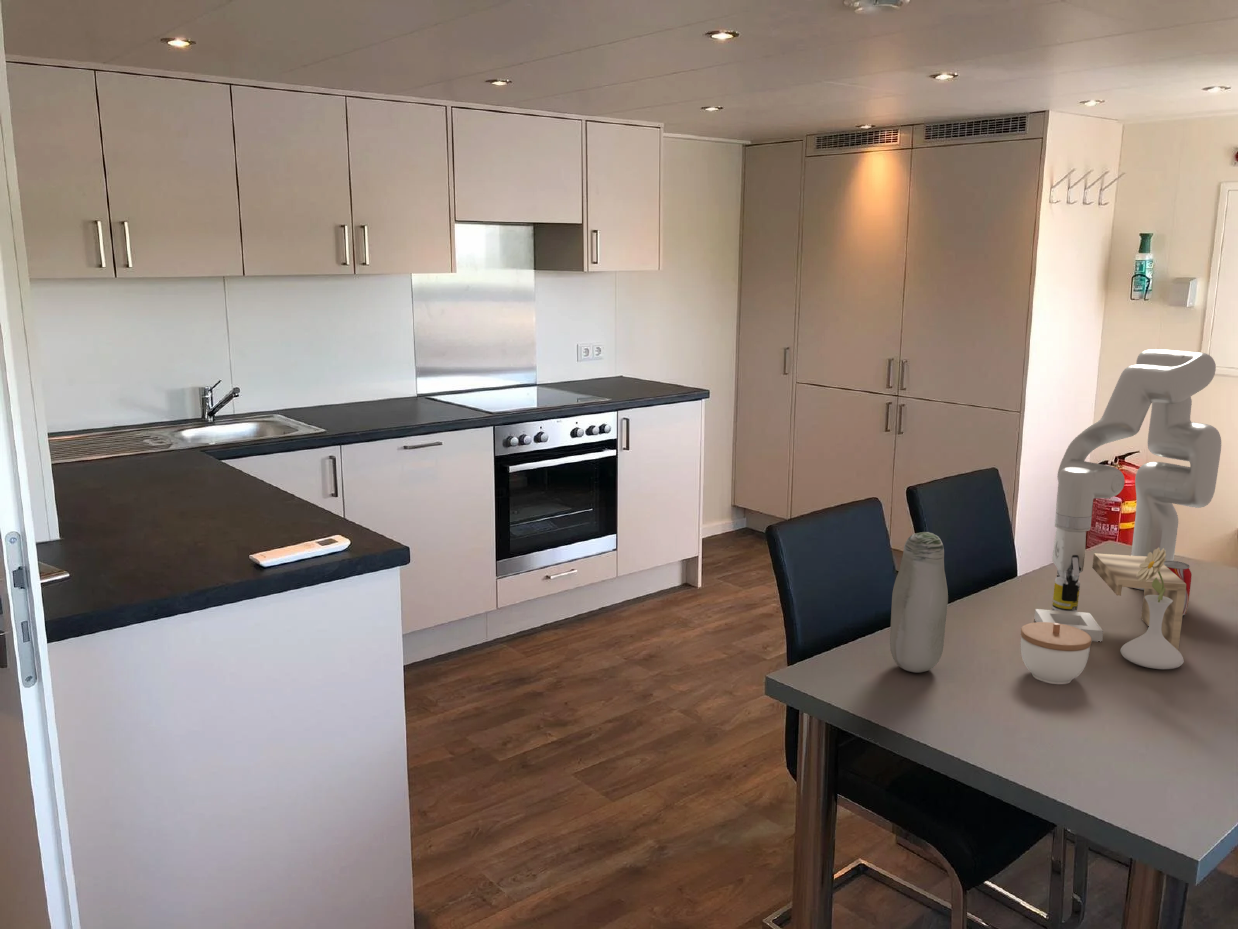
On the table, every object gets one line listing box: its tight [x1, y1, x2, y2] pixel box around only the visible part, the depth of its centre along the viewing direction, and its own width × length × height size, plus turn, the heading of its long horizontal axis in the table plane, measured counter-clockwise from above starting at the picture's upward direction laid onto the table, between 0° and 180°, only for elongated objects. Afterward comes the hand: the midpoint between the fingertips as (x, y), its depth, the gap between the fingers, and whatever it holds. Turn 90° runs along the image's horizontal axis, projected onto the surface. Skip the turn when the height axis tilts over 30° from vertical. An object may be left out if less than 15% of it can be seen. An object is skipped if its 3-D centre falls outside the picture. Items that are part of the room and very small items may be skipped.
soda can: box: [1164, 560, 1192, 616], centre depth 228 cm, size 7×7×12 cm
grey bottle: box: [889, 531, 949, 673], centre depth 193 cm, size 10×10×28 cm
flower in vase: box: [1120, 548, 1185, 670], centre depth 197 cm, size 13×11×25 cm
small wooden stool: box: [1091, 553, 1186, 651], centre depth 216 cm, size 20×13×15 cm, turn 168°
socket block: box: [1034, 608, 1104, 643], centre depth 218 cm, size 12×12×2 cm
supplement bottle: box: [1051, 569, 1081, 612], centre depth 229 cm, size 5×5×10 cm
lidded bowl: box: [1020, 621, 1093, 685], centre depth 192 cm, size 13×13×11 cm
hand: (1065, 595), depth 230 cm, fingers closed on supplement bottle, 5 cm apart
